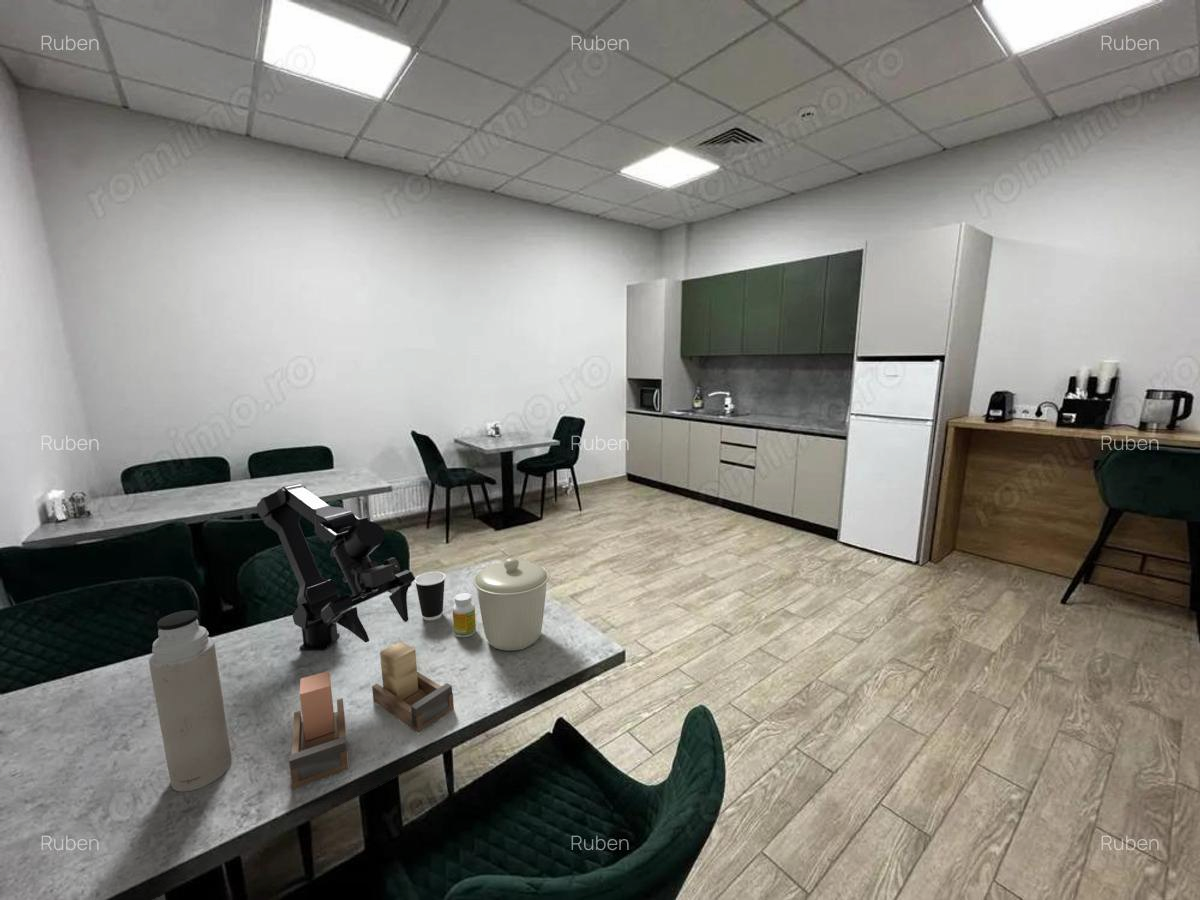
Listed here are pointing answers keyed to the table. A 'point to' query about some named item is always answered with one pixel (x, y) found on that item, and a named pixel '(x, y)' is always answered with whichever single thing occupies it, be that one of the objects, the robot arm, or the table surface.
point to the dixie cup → (431, 594)
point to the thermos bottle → (189, 702)
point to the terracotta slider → (317, 705)
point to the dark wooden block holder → (318, 751)
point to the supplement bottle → (464, 616)
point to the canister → (512, 602)
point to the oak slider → (399, 670)
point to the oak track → (417, 703)
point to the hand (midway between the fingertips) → (387, 631)
